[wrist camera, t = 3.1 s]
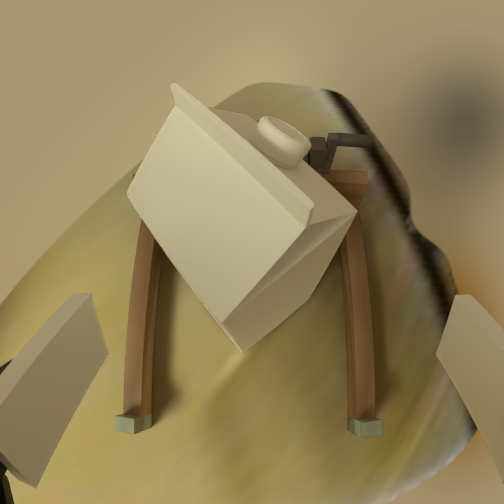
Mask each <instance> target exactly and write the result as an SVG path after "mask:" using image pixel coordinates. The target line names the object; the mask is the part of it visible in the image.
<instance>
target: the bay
mask: <svg viewBox="0 0 504 504" xmlns="http://www.w3.org/2000/svg"><path fill="white" fill-rule="evenodd" d="M310 143H311V145H312V146H311V149H310V150H309V151H308V155H307V154H306V156H304V158H303V160H304V161H305V162H306V163H307V164H308V165H309V166H310V167H312V168H313V169H314V170H315V171H316V172H317V173H318V174H319V175H320V176H322V177H323V178H324V179H325V180H326V181H327V182H328V183H329V184H330V185H331V186H333V187H334V188H335V189H336V190H337V191H338V192H339V193H340V194H341V195H342V196H343V197H344V198H345V199H346V200H347V201H348V202H349V203H350V204H351V205H352V206H353V207H354V208H355V209H356V210H357V211H358V212H357V213H356V215H355V217H354V219H353V221H352V223H351V225H350V227H349V229H348V231H347V233H346V235H345V236H344V238H343V240H342V242H341V244H340V246H339V249H340V259H341V270H342V281H343V294H344V308H345V325H346V346H347V379H348V431H350V432H352V433H353V434H355V435H357V436H359V437H361V438H368V437H374V436H381V435H382V420H381V419H378V418H375V368H374V345H373V329H372V315H371V303H370V293H369V283H368V274H367V265H366V257H365V249H364V242H363V235H362V228H361V221H360V215H359V209H358V205H359V203H360V201H361V199H362V197H363V195H364V193H365V191H366V189H367V187H368V185H369V181H368V177H367V172H360V171H340V170H330V169H331V165H332V162H333V158H334V155H335V151H336V148H337V146H347V147H361V148H371V147H372V143H373V140H372V136H371V135H359V134H346V133H329V134H328V138H327V142H326V140H325V137H311V138H310ZM135 175H136V174H134V175H133V179H134V177H135ZM133 179H132V181H133ZM162 250H163V249H162V248H161V246H160V245H159V243H158V242H157V240H156V239H155V238H154V236H153V235H152V233H151V232H150V230H149V229H148V227H147V226H146V224H145V223H144V221H143V220H141V226H140V232H139V238H138V244H137V251H136V258H135V265H134V272H133V280H132V288H131V297H130V306H129V316H128V327H127V340H126V355H125V373H124V408H123V414H122V415H117V416H115V431H119V432H124V433H129V434H136V433H139V432H141V431H144V430H146V429H149V428H151V427H152V377H153V354H154V337H155V322H156V309H157V298H158V287H159V277H160V268H161V259H162Z"/></svg>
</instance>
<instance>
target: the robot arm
mask: <svg viewBox="0 0 504 504" xmlns="http://www.w3.org/2000/svg"><path fill="white" fill-rule="evenodd" d="M107 355H108V351H107V348H106V344H105V341H104V338H103V335H102V331H101V328H100V325H99V321H98V318H97V314H96V310H95V307H94V303H93V299H92V295H91V294H88V293H74V294H73V295H72V296H71V297H70V298H69V299H68V300H67V301H66V302H65V303H64V304H63V305H62V306H61V307H60V308H59V309H58V310H57V311H56V312H55V313H54V314H53V315H52V316H51V318H50V319H49V320H48V321H47V322H46V323H45V324H44V325H43V326H42V327H41V328H40V329H39V331H38V332H37V333H36V334H35V335H34V336H33V337H32V338H31V339H30V341H29V342H28V343H27V344H26V345H25V346H24V347H23V349H22V350H21V351H20V352H19V353H18V354H17V356H16V357H15V358H14V359H13V360H10V361H9V362H7V363H6V364H4V365H3V366H1V367H0V504H14V501H13V497H12V493H11V489H10V484H9V481H8V478H7V476H6V475H5V472H6V470H7V469H8V470H9V471H10V472H11V473H12V474H13V475H14V476H15V477H16V478H17V479H18V480H20V481H22V482H24V483H26V484H28V485H30V486H32V487H34V488H36V487H37V485H38V483H39V481H40V479H41V477H42V475H43V473H44V471H45V469H46V467H47V465H48V462H49V460H50V458H51V456H52V455H53V453H54V451H55V449H56V447H57V445H58V443H59V441H60V439H61V437H62V435H63V433H64V431H65V429H66V428H67V426H68V424H69V422H70V420H71V418H72V416H73V415H74V413H75V411H76V409H77V407H78V406H79V404H80V402H81V400H82V398H83V397H84V395H85V393H86V391H87V390H88V388H89V386H90V384H91V383H92V381H93V379H94V377H95V376H96V374H97V372H98V371H99V369H100V367H101V365H102V364H103V362H104V360H105V359H106V357H107ZM436 356H437V357H438V359H439V361H440V362H441V364H442V366H443V367H444V369H445V371H446V372H447V374H448V376H449V377H450V379H451V381H452V383H453V384H454V386H455V388H456V389H457V391H458V393H459V395H460V397H461V398H462V400H463V402H464V404H465V406H466V407H467V409H468V411H469V413H470V415H471V417H472V419H473V420H474V422H475V424H476V426H477V428H478V430H479V432H480V434H481V436H482V438H483V440H484V442H485V444H486V446H487V448H488V450H489V452H490V454H491V456H492V458H493V461H494V463H495V465H496V467H497V469H498V471H499V474H500V476H501V478H502V480H503V483H504V329H503V328H502V327H501V326H500V325H499V324H498V323H497V321H496V320H495V319H494V318H493V317H492V316H491V315H490V314H489V313H488V312H487V311H486V310H485V309H484V308H483V307H482V306H481V305H480V304H479V303H478V302H477V301H476V300H475V299H474V298H473V296H472V295H471V294H465V295H455V297H454V301H453V304H452V308H451V311H450V314H449V317H448V320H447V323H446V326H445V329H444V332H443V335H442V338H441V341H440V344H439V346H438V349H437V352H436Z"/></svg>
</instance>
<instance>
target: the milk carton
mask: <svg viewBox="0 0 504 504" xmlns="http://www.w3.org/2000/svg"><path fill="white" fill-rule="evenodd" d="M170 87H171V91H172V94H173V98H174V102H175V106H174V108H173V109H172V111H171V112H170V114H169V116H168V117H167V119H166V121H165V123H164V124H163V126H162V128H161V129H160V131H159V133H158V134H157V136H156V138H155V140H154V141H153V143H152V145H151V147H150V149H149V150H148V152H147V154H146V156H145V158H144V160H143V161H142V163H141V165H140V167H139V169H138V171H137V173H136V175H135V177H134V179H133V181H132V183H131V185H130V187H129V189H128V191H127V193H126V194H127V197H128V198H129V200H130V202H131V203H132V205H133V206H134V208H135V209H136V211H137V212H138V214H139V215H140V217H141V218H142V220H143V221H144V223H145V224H146V226H147V227H148V229H149V230H150V232H151V233H152V235H153V236H154V238H155V239H156V240H157V242H158V243H159V245H160V246H161V248H162V249H163V250H164V252H165V253H166V255H167V256H168V258H169V259H170V260H171V262H172V263H173V265H174V266H175V267H176V269H177V270H178V272H179V273H180V274H181V276H182V277H183V278H184V280H185V281H186V283H187V284H188V285H189V287H190V288H191V289H192V291H193V292H194V293H195V295H196V296H197V297H198V299H199V300H200V301H201V303H202V304H203V305H204V306H205V308H206V309H207V310H208V312H209V313H210V314H211V315H212V317H213V318H214V319H215V320H216V322H217V323H218V324H219V325H220V327H221V328H222V329H223V330H224V332H225V333H226V334H227V335H228V337H229V338H230V339H231V340H232V342H233V343H234V344H235V345H236V346H237V348H238V349H239V350H240V351H241V352H242V353H244V352H246V351H247V350H248V349H250V348H251V347H252V346H253V345H255V344H256V343H257V342H258V341H260V340H261V339H262V338H263V337H264V336H266V335H267V334H268V333H269V332H271V331H272V330H273V329H274V328H275V327H277V326H278V325H279V324H280V323H282V322H283V321H284V320H285V319H286V318H288V317H289V316H290V315H291V314H292V313H293V312H295V311H296V310H297V309H298V308H299V307H301V306H302V305H303V304H304V303H305V302H306V301H308V300H309V298H310V296H311V295H312V293H313V291H314V290H315V288H316V286H317V284H318V283H319V281H320V279H321V278H322V276H323V274H324V272H325V271H326V269H327V267H328V265H329V264H330V262H331V260H332V258H333V256H334V255H335V253H336V251H337V249H338V247H339V246H340V244H341V242H342V240H343V238H344V236H345V235H346V233H347V231H348V229H349V227H350V225H351V223H352V221H353V219H354V217H355V215H356V213H357V212H358V211H357V210H356V209H355V208H354V207H353V206H352V205H351V204H350V203H349V202H348V201H347V200H346V199H345V198H344V197H343V196H342V195H341V194H340V193H339V192H338V191H337V190H336V189H335V188H334V187H333V186H331V185H330V184H329V183H328V182H327V181H326V180H325V179H324V178H323V177H322V176H320V175H319V174H318V173H317V172H316V171H315V170H314V169H313V168H312V167H310V166H309V165H308V164H307V163H306V162H305V161H304V160H303V158H304V156H306V154H307V153H308V151H309V150H310V149H311V146H312V145H311V143H310V141H309V140H308V139H307V138H306V137H305V136H304V135H303V134H302V133H301V132H300V131H298V130H297V129H296V128H294V127H293V126H291V125H290V124H288V123H286V122H284V121H282V120H280V119H278V118H275V117H271V116H263V117H262V118H261V119H260V121H259V123H258V122H257V121H255V120H254V119H253V118H251V117H250V116H248V115H246V114H241V113H237V112H232V111H226V110H221V109H216V108H210V107H206V106H204V105H203V104H202V103H200V102H199V101H198V100H197V99H195V98H194V97H193V96H192V95H191V94H189V93H188V92H187V91H186V90H184V89H183V88H182V87H180V86H179V85H178V84H177V83H173V84H171V85H170Z"/></svg>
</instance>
